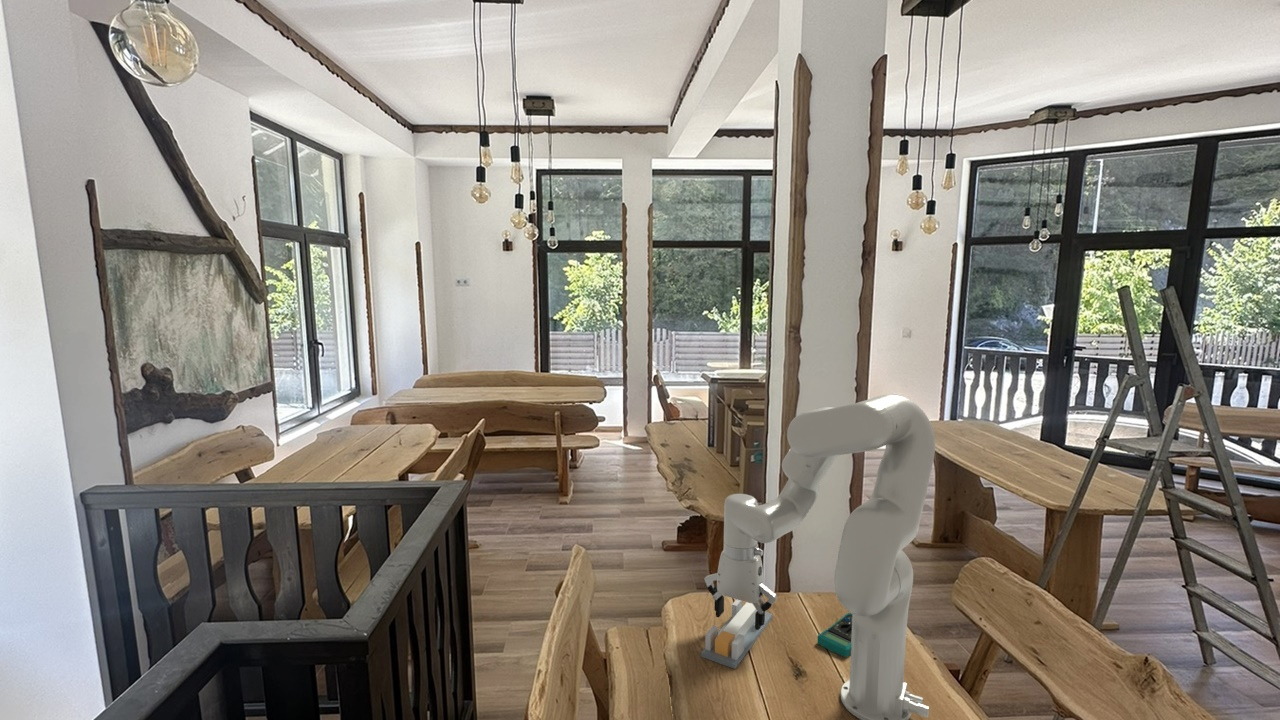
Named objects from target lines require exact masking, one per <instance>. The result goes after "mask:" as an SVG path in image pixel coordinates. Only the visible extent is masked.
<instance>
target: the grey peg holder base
mask: <svg viewBox="0 0 1280 720" xmlns="http://www.w3.org/2000/svg"><path fill="white" fill-rule="evenodd" d="M744 605H745V604H742V601H741V600H737V599H735V600H734V601H733V603H731V617H730V618H729V619H728V620H727V621H726V622H725V624H723V626H722V627H721V628H720V630H719V627H718V626H717V625H712V626H711V627H710V628H709V630H707V632H706V633H705V642H704V644H705V645H704V648H703V649H702V651H701V652H700V657H701V658H704V659H707V660H709V661H712V662H715V663H718V664H720V665H722V666H726V667H729V668H731V669H734V670H736V669H737V667H738V666H739V665H740V663H741V662H742V660H743V659H744V658H745V656H746V655H747V654H748V653H749V650H751V648H752V647H753V646H754V644H755V642H756V641H757V640H758V638H759V637H760V636H761V635H762V633H763V632H764V630H765V629H766V627H767V626H768V625H769V623H770V622H771V621H772V619H773V616H774V615H773V613H771V612H768V611H767V610H766V611H765V623H764V625H763V626H761V627H760V629H759V630H756V629H755V622H754V623H753V625H752V626H751V627H750V629H749V630H748V631H747V633H746V634H745V635H741V634H739V635H738V636H737V637H736V639H735V640H734V641H733V642H732V652H731V653H730V654H729V656H728V657H726V656H723V655H721V654H718V653H715V639H716V638H717V636H718V635H719V634H720V633H721V632H722V631H723V629H724V628H725V627H726V626H727V625H728V624H729V622H730V621H731V620H732V619H733V618H734V617H735V615H736V614H737V613H738V612H739V611H740V609H741V608H742V607H743V606H744Z"/></svg>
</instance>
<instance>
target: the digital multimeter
mask: <svg viewBox="0 0 1280 720" xmlns="http://www.w3.org/2000/svg"><path fill="white" fill-rule="evenodd" d="M852 617H853V613H851V612H848V613H846V614H845V615H843V616H842V617H841V618H840V619H839V620H837V621H835V623H834V624H832V625H831V626H829V627H828V628H827V629H824V630H823V631H822V632H820V633H819V634H818V635H817V641H816V642H817V644H818V645H820V647H822V648H825V649H827V650H828V651H831V652H833V653H835V654H837V655H839V656H842V657H843V658H848V657H849V656H851V637H852Z"/></svg>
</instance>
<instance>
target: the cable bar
mask: <svg viewBox="0 0 1280 720" xmlns="http://www.w3.org/2000/svg"><path fill="white" fill-rule="evenodd" d="M743 605H744V606H743V607H742V608H741V609H740V611H739V612H738V613H737V614H736V615H735V617H734V618H733V619H732V620H731V621H730V622H729V624H728V625H727V626H726V627H725V628H724V629H723V631H722V632H721V633H720V634H719V635H718V636H717V638H716V639H715V653H718V654H721V655H723V656H726V657H728V656H729V654H730V653H731V652H732V642H733V641H734V640H735V639H736V637H737V636H738V635H739V634H741V635H745V634H746V633H747V631H748V630H749V629H750V627H751V626H752V625H753V623H754V622H755V614H756V612H757V610H756V608H755V607H754V605H753V604H752V603H748V602H745V603H744V604H743Z"/></svg>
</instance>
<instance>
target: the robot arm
mask: <svg viewBox="0 0 1280 720" xmlns="http://www.w3.org/2000/svg"><path fill="white" fill-rule="evenodd" d="M786 437H787V438H786V439H787V442H788V446H789V447H790V448H789V450H788V451H787V452H786V454H785V456H784V458H783V459H782V462H781V469H782V471H783V473H784V475H785V476H786V477H787V478H788V480H787V481H786V483H785V485H784V487H783V488H782V490H781V491H780V493H779V495H778V496H777V497H775V499H772V500H770V501H768V502H766V503H763V504H759V503H758V502H759V501H758V500H757V499H756V498H755V497H754V496H753V495H749V494H746V493H733V494H730V495H728V496H727V497H726V498H725V500H724V505H723V506H724V509H723V510H724V511H723V513H724V514H723V550H722V551H721V553H720V556H719V557H720V558H719V561H718V567H717V572H716V573H712V574H709V575H708V574H707V575H706V576H705V577H704V581H705V585H706V586H707V590H708V591H709V593H710V595H712V597H711V598H712V600H714V611H715V617H716V618H720V616H722V614H723V613H724V612H725V597H728V598H731V599H733V600H736V599H737V600H741V602H744V603H746V602H748V603H752V604H753V605H754V607H755V608H756V610H757V612H756V614H755V629H756V630H759V629H760V627H761V626H763V625H764V623H765V611H766V612H767V611H768V610H769V609H771V607H772V606H773V604H774V603H775V602H776V600H777V599H778V595H777V593H775V592H773V590H771V589H769V588H768V587H767V586H766V585H765V581H764V580H765V578H764V568H763V562H762V558H761V557H762V556H764V550H763V549H761V548H760V547H759V543H761V544H768V543H769V544H770V543H772V542H775V541H776V540H778V539H780V538H782V537H783V536H784V535H786V534H788V533H791V532H792V531H794V530H795V529H796V528H798V527H799V526H800V525H801V524H802V523H803V521H804V519H805V518H806V517H807V515H808V513H810V511H811V509H812V508H813V506H814V504H815V503H816V500H817V498H818V496H819V492H820V484H821V482H823V480H824V478H825V476H826V475H827V473H828V472H829V470H830V469H831V467H832V465H833V464H834V463H835V461H836V459H837V457H838V456H841V455H849V454H850V455H851V454H856V453H863V452H870V451H875V450H877V449H880V448H882V447H885V449H884V452H883V456H882V458H881V460H880V463H879V465H878V469H877V471H876V472H877V474H876V478H875V479H876V480H875V483H874V488H873V490H872V494H871V496H870V498H869V499H868V500H867V501H866V502H864V503H863V504H860V505H859V506H858V507H856V508H855V509H853V511H852V512H851V513H850V514H849V515H848V517H847V519H846V522H845V523H844V527H843V529H842V534H841V539H840V544H839V549H838V553H837V558H836V563H835V568H834V573H833V587H834V592H835V594H836V598H837V599H838V601H839V603H840V605H842V607H843V608H845V610H846V611H848V613H852V614H853V617H852V637H851V654H850V662H849V663H850V665H849V679H848V680H847V681H845V682H844V683H843V684H842V686H841V687H840V700H841V702H842V704H843V706H844V707H845V709H846V710H847V711H848V712H850V713H851V714H852V715H853V716H855V717H856V718H857V719H859V720H910V718H911V716H912V713H914V714H916V715H919V716H921V717H924V718H929V711H930V709H929V708H930V706H928V705H926V704H924V697H922V696H919V695H915V694H913V693H910V692H911V691H908V690H907V686H908V683H907V682H904V681H905V679H904V677H905V663H906V662H905V661H906V659H905V658H906V642H907V639H906V638H907V627H908V616H909V615H908V613H909V609H910V600H911V595H912V591H913V585H914V570H913V566H912V565H913V564H912V563H911V560H910V559H909V557H908V555H907V554H906V553H905V552H904V551H903V549H904V548H905V547H907V546H908V545H909V544H910V543H911V542H912V541H914V539H915V538H916V537H917V535H918V532H919V530H920V524H921V519H922V515H923V509H924V506H925V502H926V498H927V493H928V488H929V487H928V486H929V483H930V482H929V481H930V477H931V473H932V469H933V464H934V459H935V453H936V437H935V431H934V429H933V425H932V423H931V421H930V419H929V417H928V416H927V414H926V413H925V412H924V410H923V409H922V407H921V408H920V406H919V405H918V404H916V402H914V401H912V400H911V399H909V398H908V397H904V396H902V395H899V394H883V395H878V396H875V397H872V398H869V399H868V398H867V399H865V400H862V401H859V402H858V401H857V402H856V403H851V404H846V405H841V406H837V407H833V406H823V407H818V408H814V409H811V410H808V411H804V412H801V413H799V414H797V415H796V416H795V417H793V419H791V421H790V423H789V425H788V428H787V432H786ZM715 581H716V585H715V584H714V582H715ZM724 596H725V597H724ZM763 596H765V597H766V598H767V601H766V602H765V600H764V598H763Z"/></svg>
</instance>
